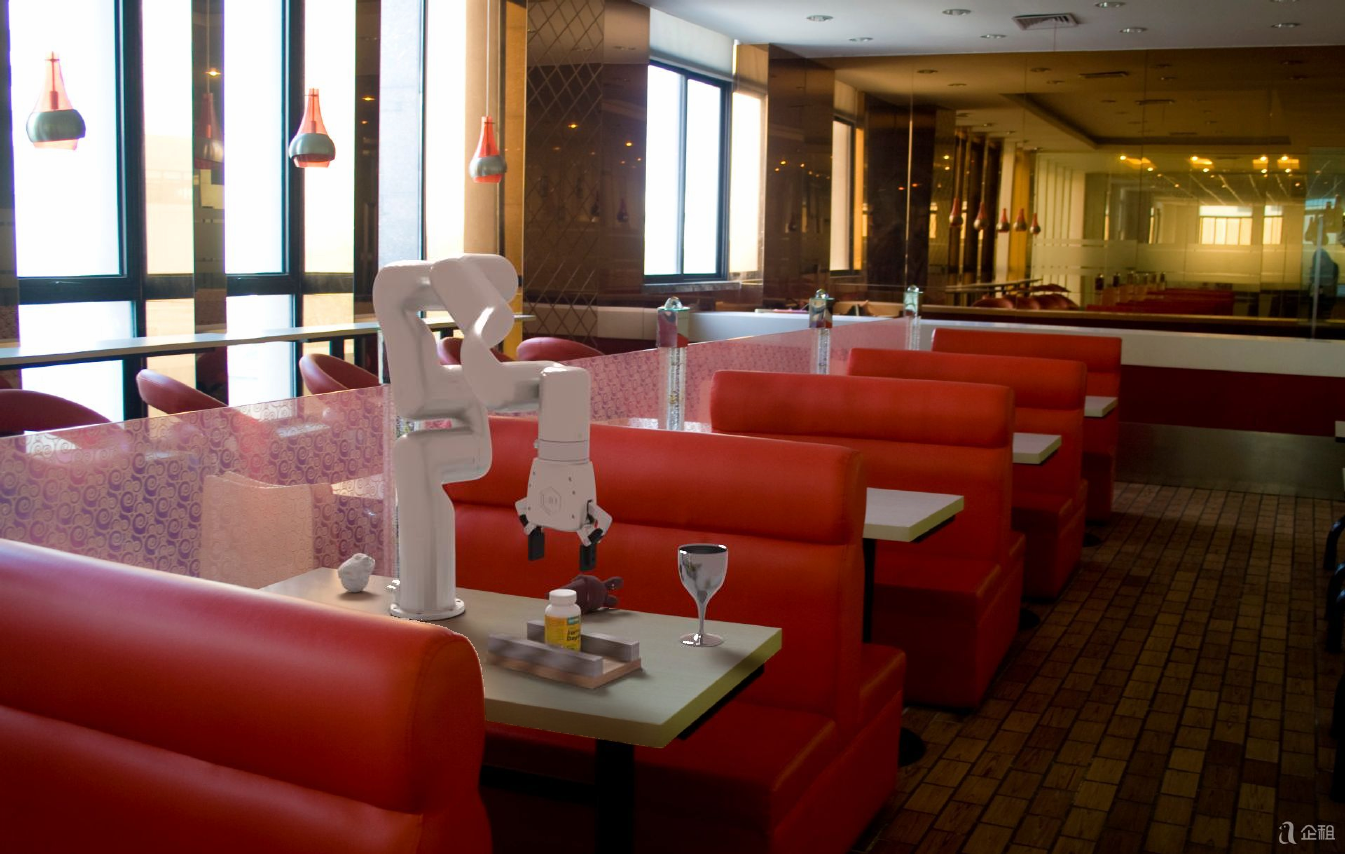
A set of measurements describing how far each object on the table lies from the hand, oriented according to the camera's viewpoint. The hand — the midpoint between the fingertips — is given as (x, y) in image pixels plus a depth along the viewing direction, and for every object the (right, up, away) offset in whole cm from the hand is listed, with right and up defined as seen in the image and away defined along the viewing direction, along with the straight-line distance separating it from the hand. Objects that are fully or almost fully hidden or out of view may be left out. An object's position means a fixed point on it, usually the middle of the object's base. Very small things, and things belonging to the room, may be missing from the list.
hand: (561, 564), depth 178 cm
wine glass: (+21, -14, +15) cm, 30 cm away
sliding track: (0, -15, +1) cm, 15 cm away
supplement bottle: (0, -14, +1) cm, 14 cm away
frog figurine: (-41, -10, +42) cm, 60 cm away
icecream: (+1, -12, +30) cm, 33 cm away
